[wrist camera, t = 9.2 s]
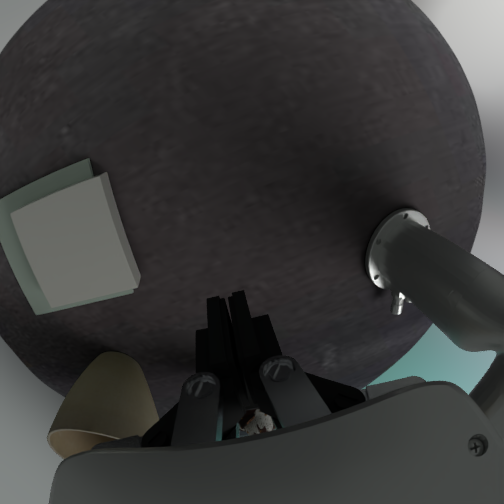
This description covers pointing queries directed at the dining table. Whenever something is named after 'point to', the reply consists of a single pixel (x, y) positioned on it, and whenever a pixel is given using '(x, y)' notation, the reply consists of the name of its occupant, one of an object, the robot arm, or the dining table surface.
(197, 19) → the dining table surface
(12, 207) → the mat
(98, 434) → the plant pot
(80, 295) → the tile
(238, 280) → the dining table surface
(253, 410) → the sundae
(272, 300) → the dining table surface
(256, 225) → the dining table surface
